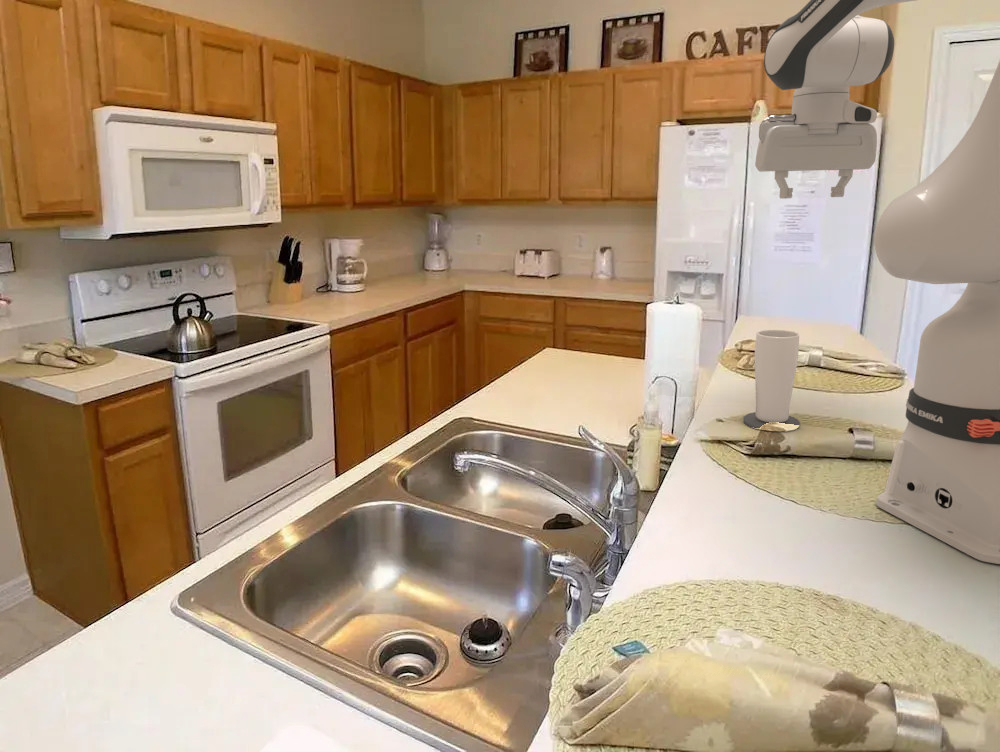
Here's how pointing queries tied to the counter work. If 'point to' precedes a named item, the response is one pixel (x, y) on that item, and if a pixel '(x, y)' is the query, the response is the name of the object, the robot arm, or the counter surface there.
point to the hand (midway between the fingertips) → (811, 197)
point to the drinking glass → (775, 373)
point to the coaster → (756, 423)
